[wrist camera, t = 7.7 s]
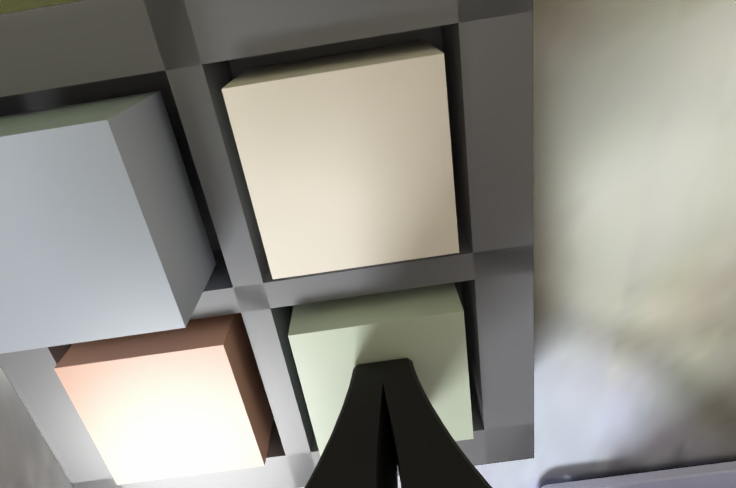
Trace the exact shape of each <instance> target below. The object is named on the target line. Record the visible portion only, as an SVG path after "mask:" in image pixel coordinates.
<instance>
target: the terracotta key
mask: <svg viewBox="0 0 736 488" xmlns="http://www.w3.org/2000/svg"><path fill="white" fill-rule="evenodd" d="M54 370H55V372H56V373H57V375H58V377H59V379H60V381H61V383H62V384H63V386H64V388H65V390H66V392H67V394H68V395H69V397H70V399H71V401H72V403H73V405H74V407H75V408H76V410H77V412H78V414H79V416H80V418H81V419H82V421H83V423H84V425H85V427H86V429H87V430H88V432H89V434H90V436H91V438H92V440H93V442H94V443H95V445H96V447H97V449H98V451H99V453H100V454H101V456H102V458H103V460H104V462H105V464H106V465H107V467H108V469H109V471H110V473H111V475H112V477H113V478H114V480H115V482H116V484H117V485H121V484H129V483H136V482H144V481H152V480H160V479H167V478H175V477H183V476H191V475H198V474H206V473H214V472H222V471H229V470H237V469H245V468H253V467H260V466H265V462H266V456H267V451H268V445H269V440H270V434H271V429H272V423H273V417H274V416H273V413H272V410H271V407H270V404H269V400H268V397H267V394H266V391H265V388H264V384H263V381H262V378H261V375H260V372H259V368H258V365H257V362H256V359H255V356H254V352H253V349H252V346H251V343H250V340H249V336H248V333H247V330H246V327H245V324H244V320H243V317H242V314H241V313H235V314H228V315H221V316H214V317H207V318H200V319H193V320H189V322H188V324H187V326H186V328H180V329H173V330H166V331H158V332H151V333H144V334H137V335H130V336H123V337H116V338H109V339H102V340H95V341H88V342H80V343H73V344H72V346H71V347H70V348H69V350H68V351H67V352H66V353H65V355H64V356H63V357H62V359H61V360H60V361H59V362H58V364H57V365H56V366H55V368H54Z"/></svg>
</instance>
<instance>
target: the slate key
mask: <svg viewBox="0 0 736 488" xmlns="http://www.w3.org/2000/svg"><path fill="white" fill-rule="evenodd" d="M215 266H216V262H215V259H214V255H213V252H212V249H211V246H210V243H209V240H208V237H207V234H206V231H205V228H204V224H203V221H202V218H201V215H200V212H199V209H198V206H197V203H196V200H195V197H194V193H193V190H192V187H191V184H190V181H189V178H188V175H187V172H186V169H185V165H184V162H183V159H182V156H181V153H180V150H179V147H178V144H177V141H176V138H175V134H174V131H173V128H172V125H171V122H170V119H169V116H168V113H167V110H166V107H165V103H164V100H163V97H162V94H161V91H155V92H149V93H143V94H137V95H130V96H124V97H118V98H112V99H105V100H99V101H93V102H87V103H80V104H74V105H68V106H62V107H56V108H49V109H43V110H37V111H31V112H24V113H18V114H12V115H6V116H0V354H2V353H10V352H17V351H24V350H31V349H38V348H45V347H52V346H59V345H66V344H73V343H80V342H88V341H95V340H102V339H109V338H116V337H123V336H130V335H137V334H144V333H151V332H158V331H166V330H173V329H180V328H186V326H187V324H188V322H189V320H190V318H191V315H192V313H193V311H194V309H195V307H196V305H197V303H198V301H199V299H200V297H201V295H202V293H203V291H204V289H205V287H206V285H207V282H208V280H209V278H210V276H211V274H212V272H213V270H214V268H215Z"/></svg>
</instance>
